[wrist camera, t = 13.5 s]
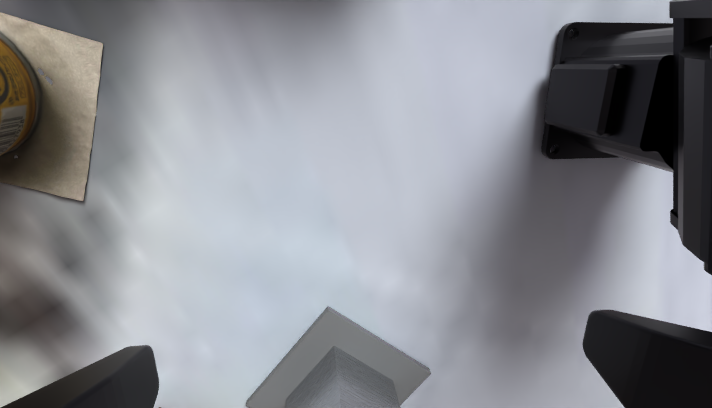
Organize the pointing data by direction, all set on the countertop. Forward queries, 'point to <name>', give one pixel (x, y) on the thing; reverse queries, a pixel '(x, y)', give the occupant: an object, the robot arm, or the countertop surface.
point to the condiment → (46, 107)
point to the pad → (353, 340)
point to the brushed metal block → (343, 385)
